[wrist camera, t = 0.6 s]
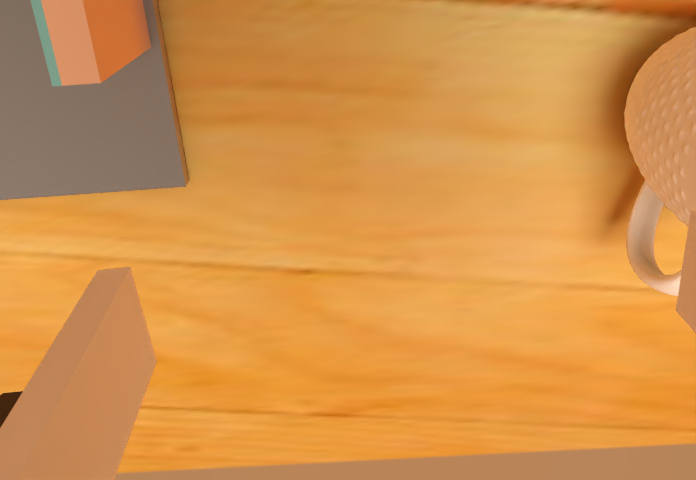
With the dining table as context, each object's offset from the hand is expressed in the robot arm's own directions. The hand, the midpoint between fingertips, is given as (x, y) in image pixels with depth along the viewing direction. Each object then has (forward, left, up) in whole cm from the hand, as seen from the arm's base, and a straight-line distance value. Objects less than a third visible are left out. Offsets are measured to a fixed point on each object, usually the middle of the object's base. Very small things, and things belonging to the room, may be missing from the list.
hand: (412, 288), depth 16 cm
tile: (-7, -12, -23) cm, 27 cm away
